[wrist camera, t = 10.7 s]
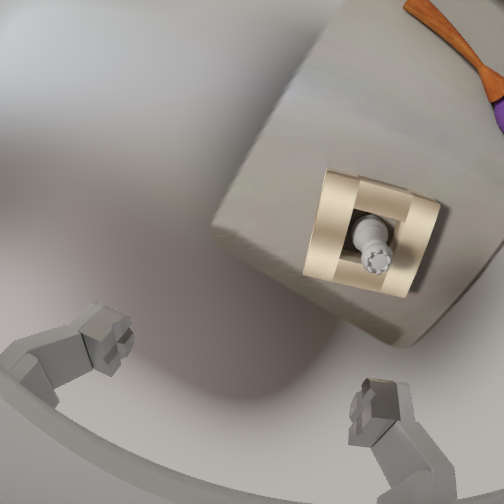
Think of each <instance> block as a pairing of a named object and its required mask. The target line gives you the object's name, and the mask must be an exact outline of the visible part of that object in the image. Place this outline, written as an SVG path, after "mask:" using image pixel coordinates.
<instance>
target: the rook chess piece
mask: <svg viewBox="0 0 504 504" xmlns="http://www.w3.org/2000/svg"><path fill="white" fill-rule="evenodd" d="M351 239H352V242H353V243H354V245H355V247H356V248H357V249H358V250H360V251H361V252H362V256H361V263H362V265H363V267H364V269H366V270H367V271H369V272H370V273H377V275H380V274H382V273H381V272H383V271H386V272H387V271H388V270H389V267H390V266H391V264H392V261H393V252H392V250H391V249H390V247H388V246H387V244H386V242H387V239H388V230H387V227H386V225H385V223H384V221H383V220H382V219H380V218H379V217H378V216H374V215H365V216H362V217H360V218H359V219H357V220H356V221H355V223H354V224H353V225H352V228H351Z"/></svg>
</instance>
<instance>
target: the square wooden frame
mask: <svg viewBox="0 0 504 504" xmlns="http://www.w3.org/2000/svg"><path fill="white" fill-rule="evenodd" d="M440 206H441V204H440V203H438V202H437V201H436V200H435V199H434V198H433V197H430V196H427V195H424V194H421V193H418V192H414V191H411V190H408V189H405V188H401V187H398V186H395V185H391V184H388V183H384V182H381V181H377V180H373V179H370V178H366V177H362V176H358V175H354V174H351V173H347V172H342V171H338V170H334V169H330V168H326V173H325V177H324V182H323V187H322V191H321V196H320V201H319V205H318V209H317V214H316V218H315V222H314V227H313V231H312V235H311V239H310V244H309V248H308V252H307V256H306V260H305V264H304V270H303V275H306V276H310V277H314V278H319V279H323V280H327V281H332V282H336V283H340V284H345V285H349V286H354V287H358V288H362V289H367V290H371V291H376V292H380V293H385V294H389V295H393V296H398V297H402V298H405V297H406V295H407V293H408V291H409V288H410V286H411V284H412V282H413V279H414V277H415V275H416V272H417V270H418V267H419V265H420V262H421V260H422V257H423V255H424V252H425V250H426V247H427V244H428V242H429V239H430V236H431V233H432V230H433V228H434V225H435V222H436V219H437V216H438V213H439V210H440ZM353 208H354V209H358V210H362V211H366V212H370V213H374V214H377V215H381V216H385V217H388V218H392V219H396V220H397V222H396V225H395V229H394V232H393V235H392V238H391V241H390V244H389V247H390V249H391V250H392V252H393V261H392V264H391V266H390V267H389V270H388V271H387V272H386V271H383V272H381V273H382V274H380V275H377V273H370V272H369V271H367V270H366V269H364V267H363V265H362V263H361V256H362V253H358V252H354V251H350V250H346V249H342V247H343V244H344V240H345V237H346V233H347V230H348V226H349V223H350V219H351V215H352V211H353Z"/></svg>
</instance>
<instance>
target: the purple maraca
mask: <svg viewBox="0 0 504 504" xmlns="http://www.w3.org/2000/svg"><path fill="white" fill-rule="evenodd" d="M403 9H404V10H406V11H407V12H409V13H410V14H412V15H413V16H415V17H416V18H417V19H419V20H420V21H421V22H423V23H424V24H425V25H427V26H428V27H429V28H431V29H432V30H433V31H435V32H436V33H437V34H438V35H440V36H441V37H442V38H443V39H444V40H446V41H447V42H448V43H449V44H450V45H452V46H453V47H454V48H455V49H456V50H457V51H458V52H460V53H461V54H462V55H463V56H464V57H465V58H466V59H467V60H468V61H469V62H470V63H471V64H472V65H473V66H474V67H475V68H477V69H478V72H479V75H480V77H481V80H482V83H483V86H484V89H485V92H486V95H487V98H488V101H489V102H494V101H496V102H495V111H494V115H495V118H496V121H497V124H498V125H499V127H500V128H501V130H502V131H503V133H504V77H503V76H501V75H500V74H498V73H497V72H495V71H493V70H492V69H490V68H489V67H487V66H485V65H484V64H483V63H482V62H481V60H480V59H479V58H478V56H477V55H476V54H475V52H474V51H473V50H472V48H471V47H470V46H469V44H468V43H467V42H466V41H465V39H464V38H463V37H462V36H461V35H460V33H459V32H458V31H457V30H456V29H455V27H454V26H453V25H452V24H451V23H450V22H449V21H448V20H447V18H446V17H445V16H444V15H443V14H442V13H441V12H440V11H439V10H438V9H437V8H436V7H435V6H434V5H433V4H432V3H431V2H430V1H429V0H407V2H406V3H405V4H404V6H403Z"/></svg>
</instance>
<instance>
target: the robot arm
mask: <svg viewBox="0 0 504 504" xmlns="http://www.w3.org/2000/svg"><path fill="white" fill-rule="evenodd" d="M131 324H132V322H131V317H130V316H128V315H126V314H124V313H121V312H119V311H117V310H114V309H111V308H110V307H107V306H105V305H102V304H100V303H98V302H94V303H91V304H90V305H89V306H88V307H87V308H86V309H85V310H84V311H83V312H82V313H81V314H80V315H79V316H78V317H77V318H76V319H75V320H74V321H73V322H72V323H71V324H70V325H69V326H65V325H64V326H61V327H57V328H54V329H51V330H47V331H44V332H41V333H38V334H34V335H31V336H28V337H25V338H22V339H18V340H15V341H13V342H12V343H11V344H10V345H9V346H8V347H7V348H6V349H5V350H4V351H3V352H2V353H1V354H0V504H310V503H302V502H293V501H287V500H282V499H276V498H270V497H265V496H260V495H256V494H251V493H247V492H243V491H238V490H234V489H231V488H227V487H223V486H220V485H216V484H213V483H210V482H206V481H203V480H200V479H197V478H194V477H191V476H188V475H185V474H183V473H180V472H177V471H174V470H172V469H169V468H167V467H164V466H161V465H159V464H157V463H154V462H152V461H149V460H147V459H145V458H143V457H140V456H138V455H136V454H134V453H132V452H130V451H128V450H125V449H123V448H121V447H119V446H117V445H115V444H113V443H111V442H110V441H108V440H106V439H104V438H102V437H100V436H98V435H97V434H95V433H93V432H91V431H89V430H88V429H86V428H84V427H83V426H81V425H79V424H78V423H76V422H74V421H73V420H71V419H69V418H68V417H66V416H65V415H63V414H62V413H60V412H59V411H57V410H56V409H55V407H56V406H57V404H58V403H59V398H58V396H57V395H56V393H55V391H54V389H55V388H57V387H59V386H61V385H64V384H65V383H68V382H70V381H71V380H74V379H76V378H78V377H80V376H81V375H84V374H86V373H87V372H90V371H92V370H93V369H95V370H97V371H99V372H101V373H104V374H106V375H108V376H110V377H112V376H113V374H114V373H115V372H116V371H117V369H118V368H119V367H120V365H121V361H120V359H122V358H125V357H127V356H128V354H129V353H130V352H131V350H132V347H133V344H134V334H133V332H132V330H131V329H130V328H129V326H130V325H131ZM349 418H350V419H351V421H352V422H353V424H352V425H351V427H350V428H349V442H348V444H349V445H353V446H362V447H370V448H371V450H372V452H373V454H374V456H375V458H376V460H377V462H378V464H379V465H380V467H381V469H382V471H383V473H384V475H385V477H386V479H387V481H388V483H389V485H390V486H391V489H390V490H388V491H387V492H385V493H383V494H382V495H380V496H379V497H378V498H377V504H504V489H501V490H498V491H494V492H490V493H486V494H482V495H478V496H473V497H469V498H463V499H458V500H457V492H456V479H455V470H454V466H453V465H452V464H451V462H450V461H449V460H448V459H447V457H446V456H445V455H444V454H443V452H442V451H441V450H440V449H439V447H438V446H437V445H436V443H435V442H434V441H433V439H432V438H431V437H430V436H429V434H428V433H427V432H426V431H425V429H424V428H423V427H422V426H421V424H420V423H419V422H415V417H414V410H413V403H412V397H411V391H410V385H409V384H408V383H403V382H394V381H387V380H380V379H372V378H367V379H365V381H364V382H363V384H362V390H361V391H359V392H357V393H356V395H355V396H354V398H353V401H352V403H351V407H350V416H349Z"/></svg>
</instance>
